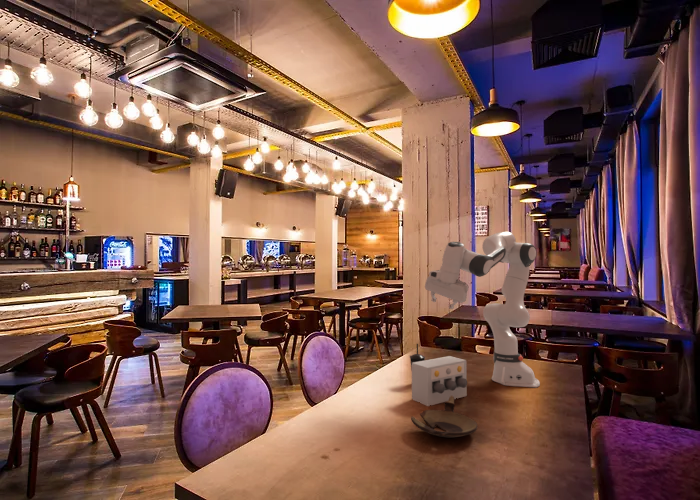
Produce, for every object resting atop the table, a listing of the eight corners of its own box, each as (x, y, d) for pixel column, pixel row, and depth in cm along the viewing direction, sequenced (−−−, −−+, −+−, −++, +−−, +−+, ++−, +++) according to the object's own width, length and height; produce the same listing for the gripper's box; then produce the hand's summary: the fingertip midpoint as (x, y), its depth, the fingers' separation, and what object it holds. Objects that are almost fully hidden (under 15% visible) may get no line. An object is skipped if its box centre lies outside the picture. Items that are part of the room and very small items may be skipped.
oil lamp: (397, 435, 135) (397, 412, 136) (442, 411, 157) (442, 392, 157) (455, 457, 120) (455, 431, 120) (496, 427, 141) (496, 406, 142)
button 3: (444, 392, 164) (444, 383, 164) (438, 394, 162) (437, 384, 162) (439, 390, 167) (439, 381, 167) (432, 392, 165) (432, 382, 165)
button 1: (467, 387, 172) (467, 377, 172) (461, 388, 170) (460, 379, 170) (462, 385, 174) (461, 376, 174) (455, 386, 172) (455, 377, 172)
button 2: (456, 389, 168) (456, 380, 168) (449, 391, 166) (449, 381, 166) (451, 387, 171) (451, 378, 171) (444, 389, 168) (444, 380, 169)
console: (467, 396, 175) (467, 360, 176) (428, 406, 162) (428, 368, 163) (450, 389, 184) (449, 355, 185) (411, 399, 171) (411, 362, 172)
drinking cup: (424, 382, 196) (424, 342, 197) (426, 386, 189) (425, 345, 190) (409, 381, 197) (409, 342, 198) (410, 386, 189) (410, 345, 190)
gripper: (472, 283, 174) (465, 311, 176) (433, 269, 187) (427, 296, 190) (466, 284, 169) (459, 314, 172) (426, 270, 182) (420, 298, 185)
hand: (442, 304), depth 181 cm, fingers open, 8 cm apart
